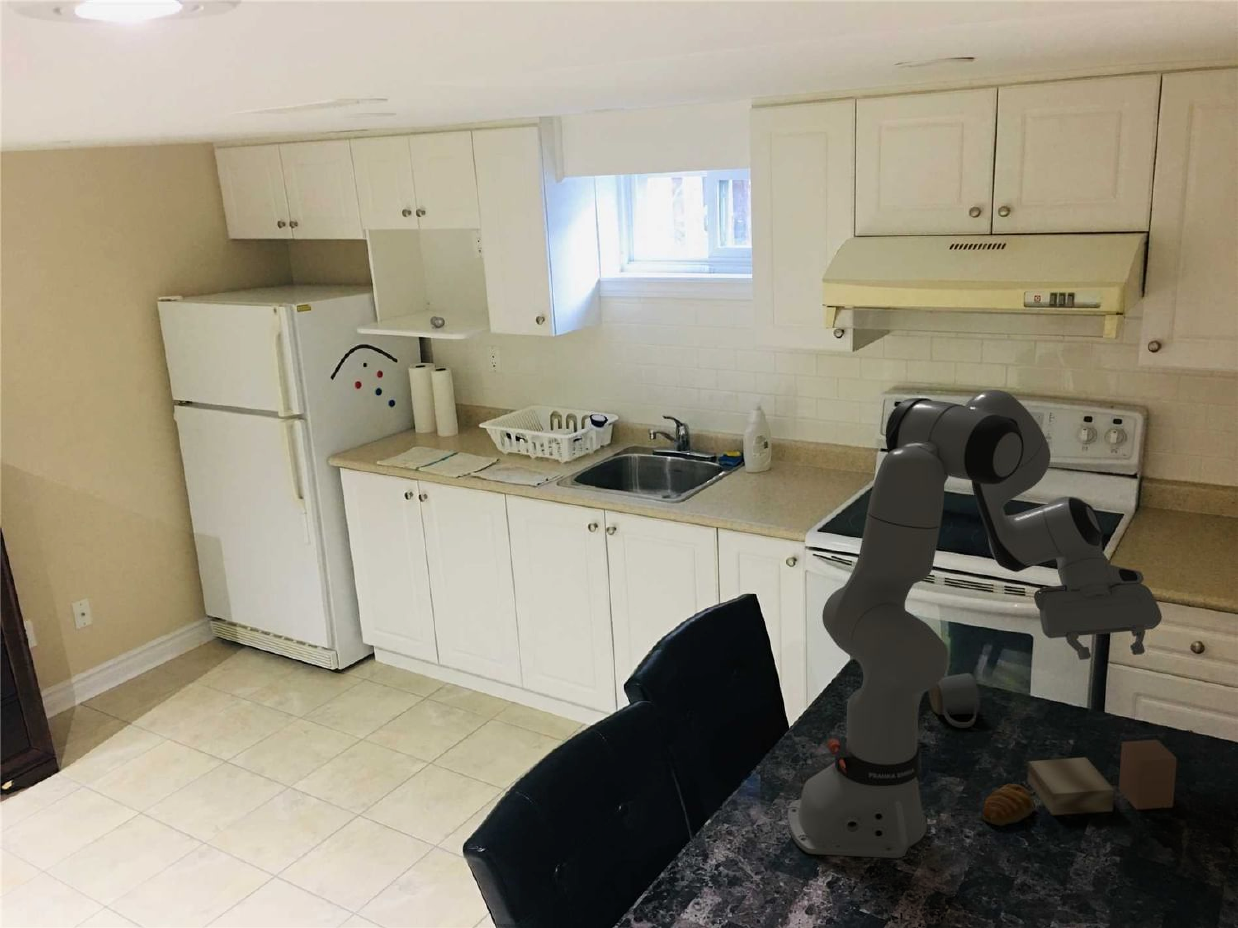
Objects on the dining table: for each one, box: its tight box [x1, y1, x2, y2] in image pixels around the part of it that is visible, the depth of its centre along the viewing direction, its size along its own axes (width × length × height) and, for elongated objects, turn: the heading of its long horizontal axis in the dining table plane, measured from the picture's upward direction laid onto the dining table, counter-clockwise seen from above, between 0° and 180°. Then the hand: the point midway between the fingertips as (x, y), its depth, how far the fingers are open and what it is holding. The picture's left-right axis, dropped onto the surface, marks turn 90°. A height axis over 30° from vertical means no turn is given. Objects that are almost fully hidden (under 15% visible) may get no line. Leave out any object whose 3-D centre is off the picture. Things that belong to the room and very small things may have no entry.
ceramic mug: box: [927, 672, 981, 729], centre depth 203 cm, size 11×8×8 cm
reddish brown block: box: [1118, 739, 1177, 810], centre depth 173 cm, size 6×6×9 cm
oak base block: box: [1027, 756, 1115, 816], centre depth 175 cm, size 10×10×4 cm
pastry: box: [981, 783, 1037, 827], centre depth 172 cm, size 9×7×4 cm
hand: (1112, 656), depth 181 cm, fingers open, 8 cm apart
